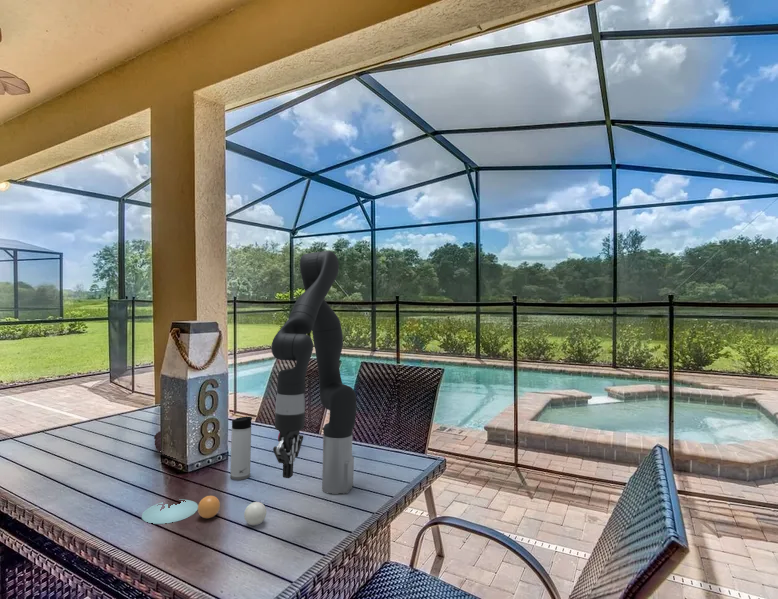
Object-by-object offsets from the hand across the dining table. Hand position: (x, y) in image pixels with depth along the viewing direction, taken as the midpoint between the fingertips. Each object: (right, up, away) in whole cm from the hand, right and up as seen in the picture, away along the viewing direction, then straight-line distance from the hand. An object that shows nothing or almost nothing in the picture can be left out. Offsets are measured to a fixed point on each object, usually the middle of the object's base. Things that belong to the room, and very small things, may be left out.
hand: (287, 476), depth 114 cm
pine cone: (-58, -13, +53) cm, 80 cm away
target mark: (-34, -13, +8) cm, 38 cm away
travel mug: (-23, -14, +33) cm, 43 cm away
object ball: (-23, -10, +5) cm, 25 cm away
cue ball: (-9, -11, +2) cm, 14 cm away
